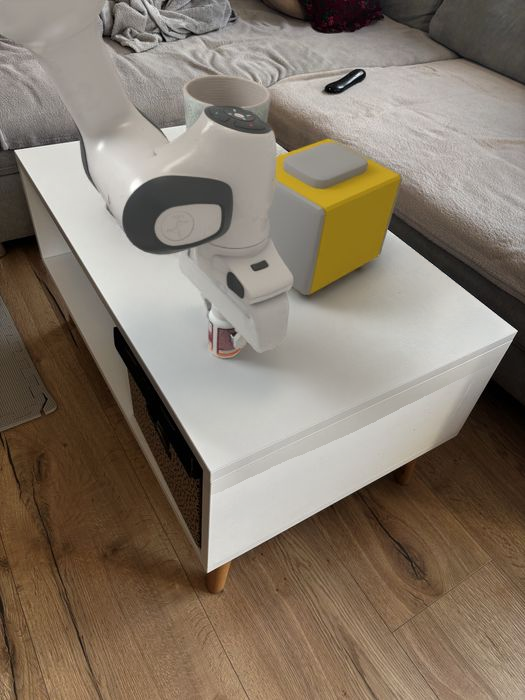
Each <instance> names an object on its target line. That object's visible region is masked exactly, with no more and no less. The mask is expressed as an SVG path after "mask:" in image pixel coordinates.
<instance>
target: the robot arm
mask: <svg viewBox="0 0 525 700" xmlns="http://www.w3.org/2000/svg"><path fill="white" fill-rule="evenodd" d="M106 3H107V0H0V36H2V37H3V38H5V39H7V40H8V41H11V42H14V43H16V44H19V45H21V46H22V47H23V48H25V49H26V50H27V51H28V52H29V53H30V54H31V55H32V56H33V58H34V59H35V60H36V61H37V63H38V64H39V66H40V67H41V69H42V70H43V71H44V73H45V75H46V76H47V78H48V80H49V82H50V84H51V85H52V87H53V88H54V90H55V92H56V94H57V95H58V97H59V99H60V100H61V102H62V104H63V105H64V107H65V109H66V110H67V112H68V114H69V116H70V118H71V119H72V121H73V123H74V125H75V128H76V130H77V134H78V140H79V148H80V149H79V150H80V158H81V164H82V167H83V170H84V173H85V175H86V178H87V179H88V180H89V182H90V183H91V184H92V186H93V187H94V189H95V190H96V191H97V192H98V193H99V195H100V196H101V198H102V200H103V201H104V203H105V205H106V204H107V206H108V207H109V209H110V211H111V212H112V214H113V215H114V217H115V218H114V217H113V218H114V219H115V220H116V222H117V224H118V226H119V227H120V228H121V230H122V231H123V233H124V234H125V236H126V238H127V239H128V241H129V242H130V243H131V244H132V245H133V246H134V247H136V248H137V249H139V250H140V251H142V252H145V253H148V254H152V255H157V256H158V255H159V256H163V255H164V256H167V255H173V254H177V263H178V267H179V269H180V272H181V273H182V274H183V275H184V277H185V278H186V279H187V280H188V281H189V282H190V284H192V285H193V286H194V287H195V288H196V289H197V290H198V291H199V292H200V296H201V299H202V302H203V305H204V308H205V317H206V319H208V320H209V317H208V316H209V312H210V310H211V309H212V303H213V304H214V305H215V306H216V307H217V309H218V310H219V311H220V313H221V314H222V315H223V316H224V317H225V319H226V320H227V321H228V322H229V323H230V324H231V325H232V326H233V327H234V328H235V331H236V333H232V334H230V343H231V344H232V345H233V346H234V348H235V349H239V348H241V349H242V348H244V347H245V346H246V345H247V343H248V345H250V346H251V347H252V349H253V350H254V351H255V352H257V353H264V352H267V351H270V350H272V349H274V348H276V347H278V346H280V345H281V344H282V343H283V342H284V340H285V339H286V335H287V328H288V322H289V315H290V300H289V297H288V294H287V291H288V290H290V289H292V288H293V287H292V285H293V276H292V274H291V272H290V270H289V269H288V268H287V266H286V265H285V263H284V262H283V260H282V259H281V257H280V256H279V254H278V252H277V250H276V248H275V246H274V244H273V242H272V240H271V239H270V238H269V232H270V223H269V218H268V211H269V208H270V206H271V204H272V201H273V197H274V190H275V180H276V163H277V156H278V155H277V142H276V141H277V140H276V135H275V132H274V129H273V128H272V126H270V125H269V124H268V122H267V123H266V122H265V121H264V120H263V119H262V118H260V117H259V116H258V115H256V114H255V113H253V112H251V111H248V110H245V109H243V108H241V107H237V106H232V105H223V104H219V105H213V106H209V107H207V108H205V109H204V110H203V112H202V113H201V115H200V117H199V118H198V120H197V121H196V122H195V123H194V124H193V125H192V126H191V127H190V128H189V129H188V130H187V131H186V130H185V131H184V132H183V133H181V134H180V135H179V136H177V137H176V138H174V139H173V140H171V141H169V139H168V137H167V136H166V134H165V133H164V132H163V130H162V129H161V128H160V127H159V126H160V125H158V123H156V122H155V121H154V120H153V119H152V118H151V117H150V116H148V115H147V114H146V113H144V111H142V110H141V109H139V108H138V107H137V106H136V105H135V104H134V103H133V101H132V100H131V98H130V96H129V94H128V91H127V89H126V86H125V85H124V83H123V80H122V78H121V76H120V74H119V72H118V69H117V67H116V66H115V63H114V61H113V58H112V56H111V54H110V52H109V50H108V47H107V45H106V43H105V41H104V38H103V36H102V33H101V29H100V25H99V15H101V12H102V11H103V9H104V7H105V5H106ZM112 214H111V215H112Z"/></svg>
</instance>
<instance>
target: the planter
mask: <svg viewBox="0 0 525 700" xmlns="http://www.w3.org/2000/svg"><path fill="white" fill-rule="evenodd" d="M182 94H183V106H184V119H185V131H187V130H188V129H189V128H190V127H191V126H192V125H193V124H194V123H195V122H196V121H197V120H198V118H199V117H200V115H201V113H202V112H203V110H204V109H205V108H207V107H209V106H213V105H219V104H223V105H232V106H237V107H241V108H243V109H245V110H248V111H251V112H253V113H255V114H256V115H258V116H259V117H260V118H262V119H263V120H264V121H265V122H266V123H267V124H268V116H269V110H270V105H271V99H272V95H271V94H272V93H271V91H270V90H269V89H268V88H267V87H266V86H265V85H263V84H262V83H260V82H258V81H255V80H253V79H250V78H247V77H242V76H237V75H227V74H209V75H202V76H197V77H194V78H192V79H189V80H188V81H187V82H185V84H184V85H183V88H182Z"/></svg>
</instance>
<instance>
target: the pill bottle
mask: <svg viewBox="0 0 525 700" xmlns="http://www.w3.org/2000/svg"><path fill="white" fill-rule="evenodd" d="M208 317H209V319H208V320H207V321H208V331H207V332H208V333H207V349H208V351H209V352H210V353H211V354H212V355H213V356H215V357H217V358H220V359H229V358H230V359H231V358H233V357H235V356H237V355H238V354H239V353H240V352H241V350H242V347H241V348H239V349H235V348H234V346H233V345H232V344H231V343H230V334H232V333H236V331H235V328H234V327H233V326H232V325H231V324H230V323H229V322H228V321H227V320H226V319H225V317H224V316H223V315H222V314H221V313H220V311H219V310H218V309H217V307H216V306H215V305H214V304H213V303H212V309H211V310H210V312H209V316H208Z"/></svg>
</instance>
